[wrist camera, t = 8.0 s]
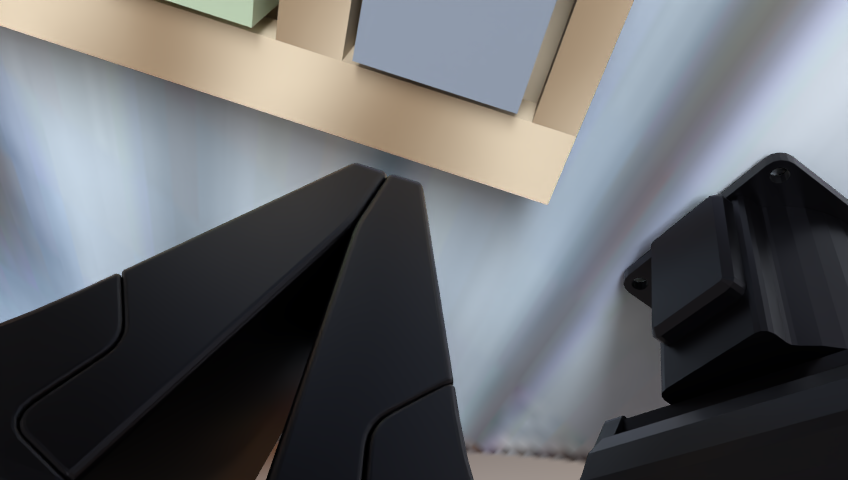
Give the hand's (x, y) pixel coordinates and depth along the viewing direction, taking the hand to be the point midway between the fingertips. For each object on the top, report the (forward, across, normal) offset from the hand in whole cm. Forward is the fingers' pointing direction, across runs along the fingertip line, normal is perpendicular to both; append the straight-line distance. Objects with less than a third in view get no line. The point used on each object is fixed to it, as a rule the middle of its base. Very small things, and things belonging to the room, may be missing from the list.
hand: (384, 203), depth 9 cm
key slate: (+11, +1, +1) cm, 11 cm away
